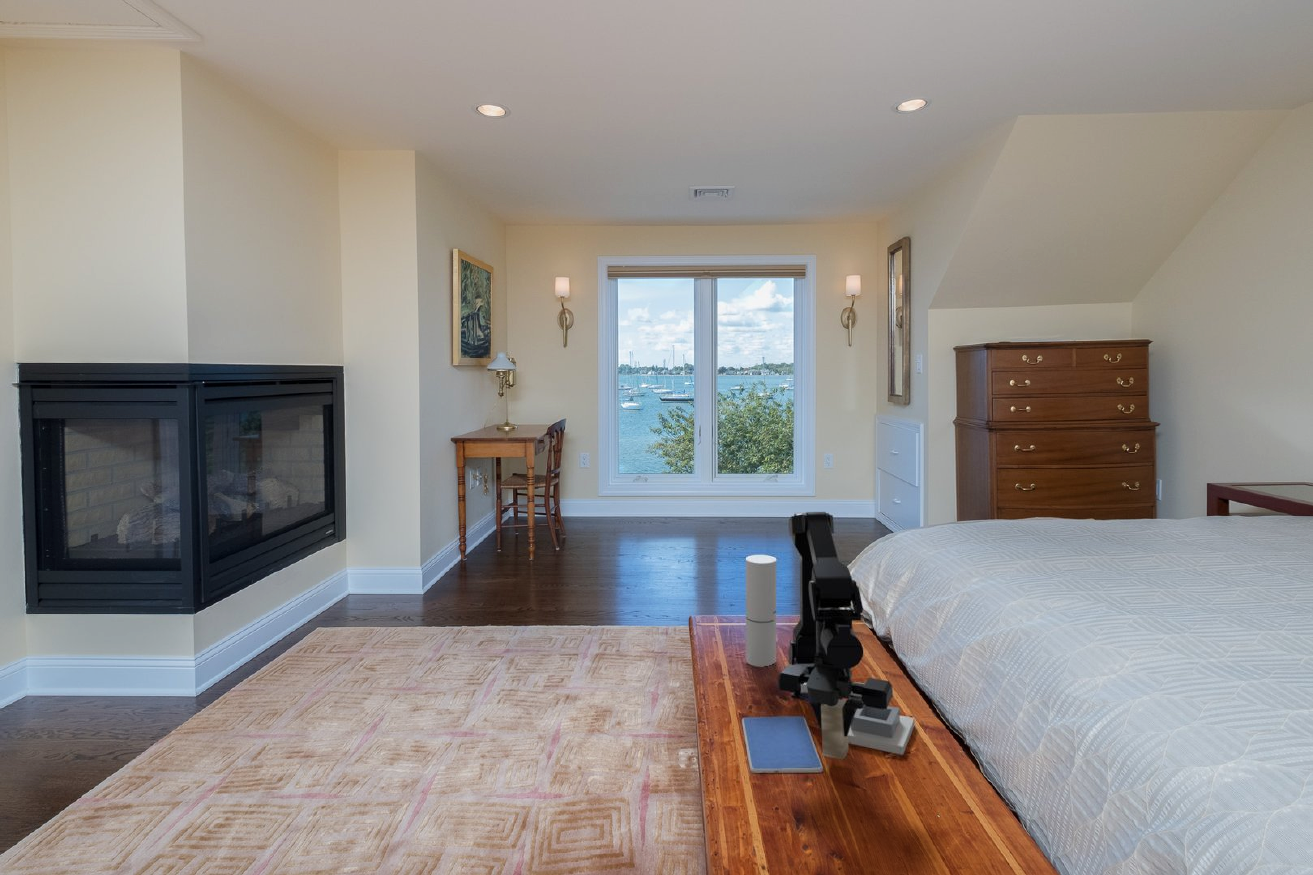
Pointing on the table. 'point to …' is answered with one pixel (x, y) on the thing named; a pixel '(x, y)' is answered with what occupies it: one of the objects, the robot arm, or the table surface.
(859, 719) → the socket board
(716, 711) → the table surface
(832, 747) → the peg
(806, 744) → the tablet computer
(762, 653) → the cylindrical container
